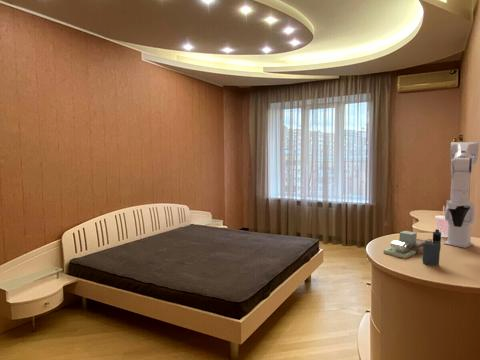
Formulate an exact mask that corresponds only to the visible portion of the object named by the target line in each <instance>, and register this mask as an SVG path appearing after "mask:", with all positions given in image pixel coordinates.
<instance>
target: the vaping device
mask: <svg viewBox="0 0 480 360" xmlns="http://www.w3.org/2000/svg"><path fill="white" fill-rule="evenodd" d="M424 240H425V242H424V244H423V252H422V258H421V259H422V260H421V261H422V263H423V264H424V265H426V266H428V265H429V266H439V265H440V253H441V247H442V246H441V245H442V244H441V243H442V242H441V241H442V237H441V232H439V230H438V229H436V228H435V231H433V232H432V241H431V240H428V239H424ZM432 242H433V243H432Z"/></svg>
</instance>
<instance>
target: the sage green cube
mask: <svg viewBox="0 0 480 360" xmlns="http://www.w3.org/2000/svg"><path fill="white" fill-rule="evenodd" d="M416 239H417V232H414V231H409V230H403V231H400V232H399V239H398V241H403V242H407V243H410V248H411V247H413V245H415V244H416Z"/></svg>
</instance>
